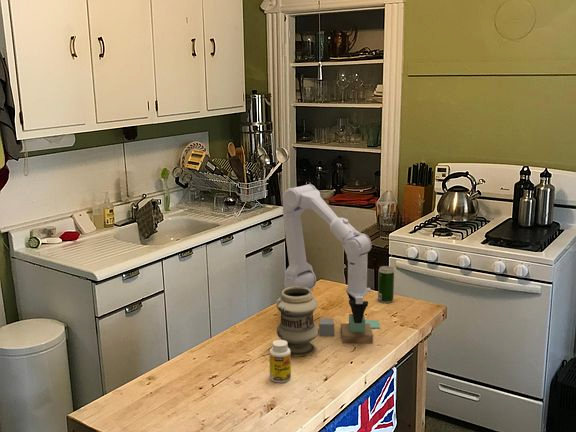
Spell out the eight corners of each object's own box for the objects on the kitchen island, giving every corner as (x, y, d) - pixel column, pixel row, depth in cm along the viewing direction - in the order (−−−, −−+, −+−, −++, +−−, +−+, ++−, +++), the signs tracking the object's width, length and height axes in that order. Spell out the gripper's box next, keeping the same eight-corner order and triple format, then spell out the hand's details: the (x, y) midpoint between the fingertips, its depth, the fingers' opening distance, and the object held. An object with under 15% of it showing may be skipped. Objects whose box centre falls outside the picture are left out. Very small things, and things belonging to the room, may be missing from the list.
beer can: (385, 304, 214) (385, 271, 212) (374, 300, 219) (375, 267, 216) (396, 301, 217) (397, 268, 214) (386, 296, 222) (387, 264, 219)
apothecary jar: (270, 354, 178) (269, 295, 174) (285, 337, 189) (284, 281, 185) (310, 360, 174) (310, 300, 170) (323, 343, 185) (323, 286, 181)
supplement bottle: (272, 384, 161) (271, 348, 159) (268, 374, 167) (267, 339, 164) (293, 382, 162) (292, 346, 160) (288, 372, 168) (287, 337, 165)
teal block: (350, 332, 186) (350, 319, 185) (348, 326, 191) (349, 314, 190) (365, 332, 186) (365, 319, 185) (363, 326, 191) (363, 314, 190)
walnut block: (342, 344, 185) (342, 335, 184) (340, 332, 194) (340, 323, 193) (372, 344, 185) (373, 335, 184) (369, 332, 193) (369, 323, 193)
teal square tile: (361, 328, 195) (361, 327, 195) (359, 321, 201) (359, 320, 201) (380, 328, 195) (380, 327, 195) (377, 321, 201) (377, 319, 201)
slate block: (319, 336, 190) (319, 324, 189) (318, 330, 194) (318, 318, 194) (334, 336, 190) (334, 324, 189) (333, 330, 194) (333, 318, 193)
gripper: (373, 283, 177) (372, 327, 181) (368, 267, 191) (367, 308, 195) (349, 283, 177) (348, 327, 181) (345, 267, 192) (344, 308, 195)
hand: (356, 317), depth 188 cm, fingers open, 7 cm apart
